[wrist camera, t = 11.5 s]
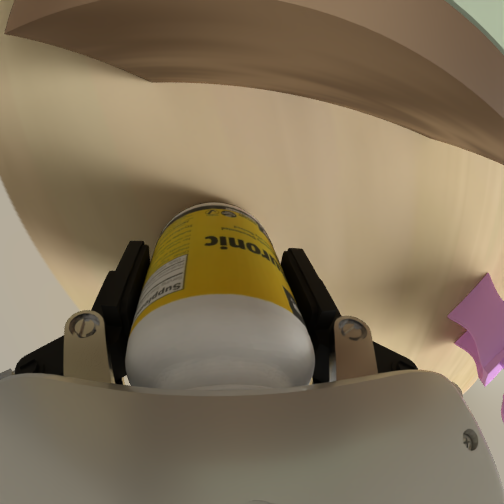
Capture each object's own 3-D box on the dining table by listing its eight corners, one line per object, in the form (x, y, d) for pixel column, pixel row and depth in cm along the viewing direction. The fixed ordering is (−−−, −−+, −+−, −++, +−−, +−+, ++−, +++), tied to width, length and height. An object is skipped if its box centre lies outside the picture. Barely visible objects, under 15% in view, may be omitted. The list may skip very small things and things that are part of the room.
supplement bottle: (292, 252, 13) (380, 442, 5) (213, 312, 15) (229, 493, 6) (215, 172, 11) (235, 407, 3) (135, 253, 12) (75, 458, 4)
